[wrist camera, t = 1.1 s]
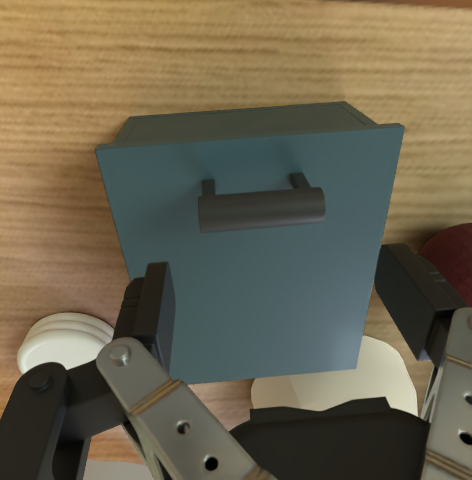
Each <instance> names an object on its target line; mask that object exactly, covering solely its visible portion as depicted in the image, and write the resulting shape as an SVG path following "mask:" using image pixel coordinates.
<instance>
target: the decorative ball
mask: <svg viewBox="0 0 472 480" xmlns="http://www.w3.org/2000/svg"><path fill="white" fill-rule="evenodd" d="M418 255H420V256H421V257H423V258H425V259H426V260H428V261H429V262H431V263H432V264H433V265H434V266H435V267H436V269H437V270H438V271H439V272H440V274H442V275H443V277H444V278H445V279H446V282H449V283H450V285H451V286H452V287H453V288H454V289H455V290H456V291H457V293H458V294H459V295H460V296H461V297H462V298H463V300H464V301H465V302H466V303H467V304H468V305H469V306H470V308H472V223H465V224H460V225H456V226H453V227H449V228H447V229H445V230H442V231H441V232H439V233H437V234H436V235H434V236H433V237H432V238H431V239H429V240H428V241H427V242H426V244H425V245H424V246H423V247H422V249H421V250H420V252H419V254H418Z"/></svg>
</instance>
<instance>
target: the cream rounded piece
mask: <svg viewBox="0 0 472 480" xmlns="http://www.w3.org/2000/svg"><path fill="white" fill-rule="evenodd" d="M385 396H386V398H387V401H388V403H389V405H390V407H391V408H396V409H399V410H403V411H406V412H409V413H411V414H413V415H416V416H418V411H417V397H416V391H415V388H414V386H413V384H412V381H411V379H410V377H409V374H408V372H407V369H406V367H405V363H404V361H403V359H402V358H401V356H400V354H399V353H398V351H397V350H395V349H394V348H392V347H391V346H390V345H388V344H387V343H386V342H383V341H380V340H377V339H374V338H372V337H369V336H362V341H361V346H360V351H359V356H358V361H357V366H356V369H351V370H340V371H329V372H318V373H308V374H297V375H286V376H276V377H265V378H255V380H254V383H253V385H252V388H251V402H252V404H253V407H254V409H257V408H268V407H278V406H287V407H293V408H300V409H307V410H314V411H323V410H326V409H329V408H331V407H334V406H337V405H339V404H342V403H345V402H347V401H350V400H353V399H363V398H374V397H385Z"/></svg>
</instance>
